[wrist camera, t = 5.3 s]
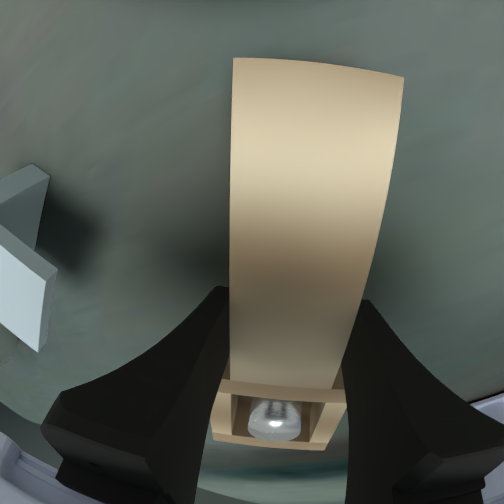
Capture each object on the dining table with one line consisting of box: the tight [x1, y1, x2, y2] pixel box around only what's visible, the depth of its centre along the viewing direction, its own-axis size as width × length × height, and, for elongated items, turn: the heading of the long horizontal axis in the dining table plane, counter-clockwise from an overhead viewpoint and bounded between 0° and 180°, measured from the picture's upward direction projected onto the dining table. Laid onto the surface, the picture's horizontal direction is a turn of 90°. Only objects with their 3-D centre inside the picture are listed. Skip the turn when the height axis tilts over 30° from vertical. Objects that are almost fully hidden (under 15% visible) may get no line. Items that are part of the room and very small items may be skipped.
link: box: [210, 58, 404, 450], centre depth 12 cm, size 17×6×4 cm, turn 178°
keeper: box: [0, 164, 58, 352], centre depth 12 cm, size 6×5×5 cm
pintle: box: [248, 397, 301, 442], centre depth 15 cm, size 2×2×4 cm
